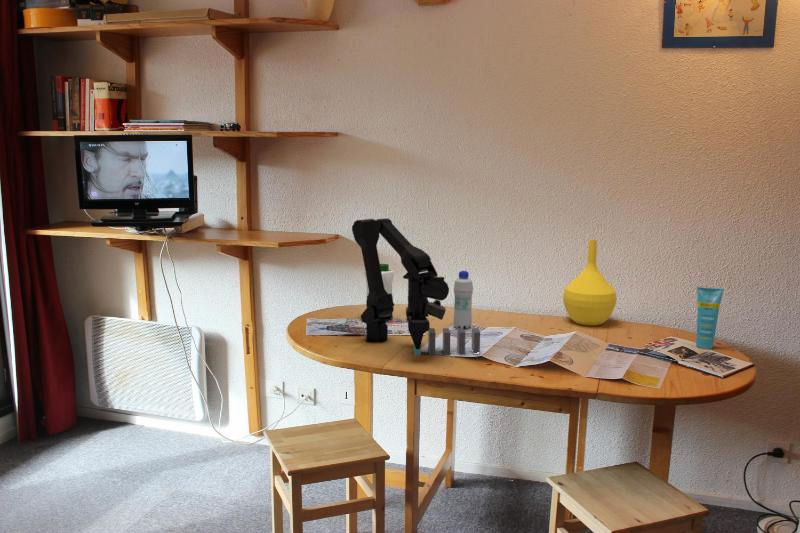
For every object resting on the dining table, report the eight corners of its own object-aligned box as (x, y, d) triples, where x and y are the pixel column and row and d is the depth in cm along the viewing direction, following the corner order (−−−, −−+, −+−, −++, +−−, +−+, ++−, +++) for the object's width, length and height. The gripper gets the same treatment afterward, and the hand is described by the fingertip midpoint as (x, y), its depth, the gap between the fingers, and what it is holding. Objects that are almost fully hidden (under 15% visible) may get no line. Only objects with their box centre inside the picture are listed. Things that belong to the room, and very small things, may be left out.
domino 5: (473, 354, 205) (474, 332, 204) (471, 349, 210) (471, 328, 209) (479, 354, 205) (480, 332, 204) (477, 349, 210) (477, 328, 209)
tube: (692, 347, 213) (698, 288, 209) (691, 343, 217) (696, 285, 214) (718, 350, 211) (724, 289, 207) (716, 345, 215) (722, 286, 212)
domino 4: (458, 354, 205) (459, 332, 204) (457, 349, 210) (457, 328, 208) (464, 354, 205) (465, 332, 204) (462, 349, 210) (463, 328, 209)
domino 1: (414, 355, 204) (414, 332, 203) (413, 350, 209) (414, 328, 208) (420, 355, 204) (420, 332, 203) (419, 350, 209) (419, 328, 208)
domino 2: (429, 355, 205) (429, 332, 203) (428, 350, 209) (428, 328, 208) (435, 355, 205) (435, 332, 203) (433, 350, 210) (434, 328, 208)
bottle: (471, 330, 231) (472, 273, 227) (451, 329, 232) (452, 272, 229) (473, 325, 238) (474, 269, 234) (454, 324, 239) (455, 268, 235)
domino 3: (444, 355, 205) (444, 332, 203) (442, 349, 210) (442, 328, 208) (450, 354, 205) (450, 332, 203) (448, 349, 210) (448, 328, 208)
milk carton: (396, 319, 244) (396, 265, 241) (379, 324, 238) (379, 268, 234) (378, 315, 250) (378, 262, 246) (361, 320, 243) (361, 265, 240)
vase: (625, 324, 240) (631, 241, 235) (591, 332, 230) (596, 245, 224) (585, 313, 255) (589, 234, 249) (551, 320, 245) (555, 238, 239)
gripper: (447, 302, 195) (446, 354, 198) (441, 288, 213) (440, 335, 216) (408, 302, 194) (408, 354, 197) (406, 288, 213) (405, 335, 216)
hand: (416, 344), depth 206 cm, fingers open, 9 cm apart
